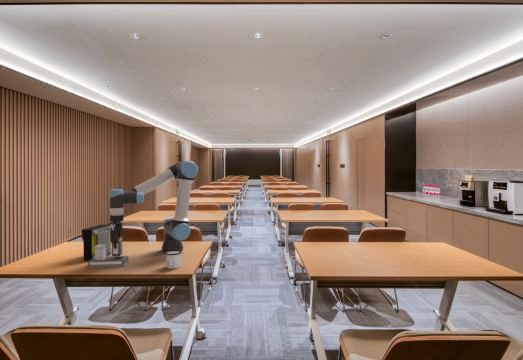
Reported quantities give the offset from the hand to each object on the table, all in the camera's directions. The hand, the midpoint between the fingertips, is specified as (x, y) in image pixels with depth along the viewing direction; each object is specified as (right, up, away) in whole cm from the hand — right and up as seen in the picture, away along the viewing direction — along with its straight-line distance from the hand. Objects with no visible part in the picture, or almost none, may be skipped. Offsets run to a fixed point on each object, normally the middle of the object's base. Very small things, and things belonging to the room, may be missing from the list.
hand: (117, 252), depth 186 cm
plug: (0, -2, 0) cm, 2 cm away
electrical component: (-21, -7, +16) cm, 27 cm away
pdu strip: (-5, -8, 0) cm, 9 cm away
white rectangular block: (-10, -7, -1) cm, 12 cm away
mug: (+36, -8, -5) cm, 37 cm away
